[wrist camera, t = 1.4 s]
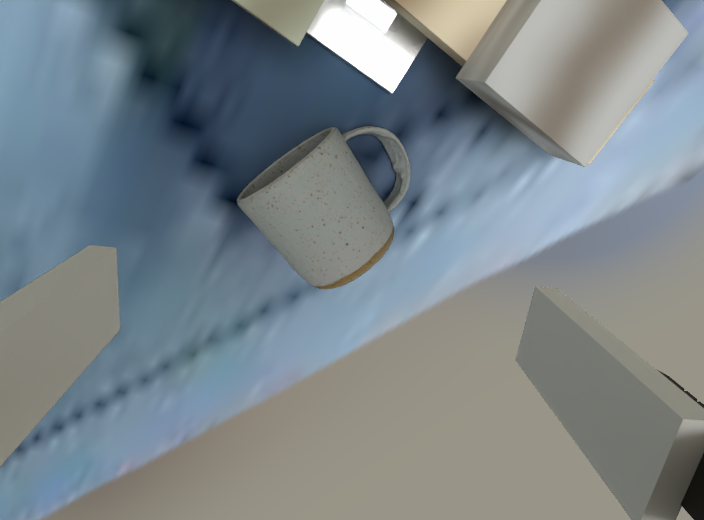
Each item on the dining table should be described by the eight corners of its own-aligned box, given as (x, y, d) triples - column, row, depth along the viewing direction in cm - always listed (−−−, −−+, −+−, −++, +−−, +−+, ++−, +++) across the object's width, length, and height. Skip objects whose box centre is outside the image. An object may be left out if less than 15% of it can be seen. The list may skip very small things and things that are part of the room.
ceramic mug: (312, 272, 35) (316, 317, 28) (241, 186, 33) (225, 210, 25) (428, 189, 34) (462, 212, 27) (364, 92, 32) (383, 89, 24)
